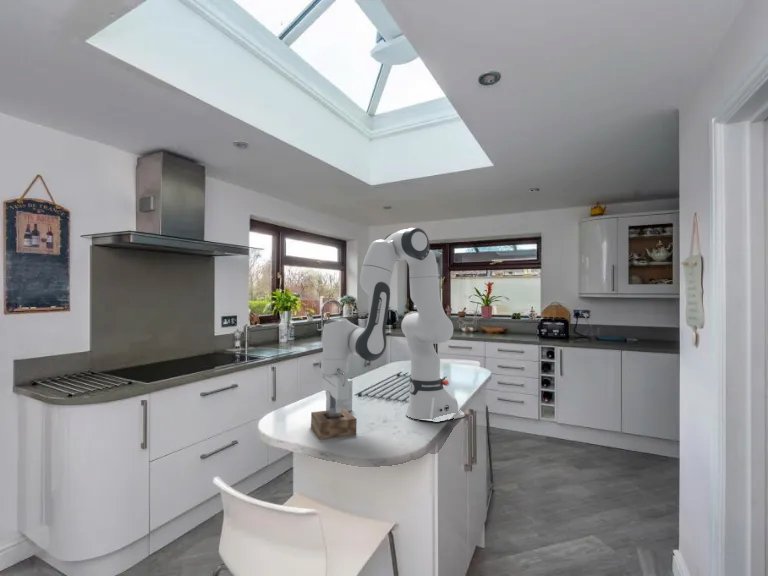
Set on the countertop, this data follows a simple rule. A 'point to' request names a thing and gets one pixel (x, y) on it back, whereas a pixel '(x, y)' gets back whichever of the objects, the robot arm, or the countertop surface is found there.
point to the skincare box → (348, 403)
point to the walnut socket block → (333, 424)
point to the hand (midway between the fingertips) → (333, 408)
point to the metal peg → (331, 407)
